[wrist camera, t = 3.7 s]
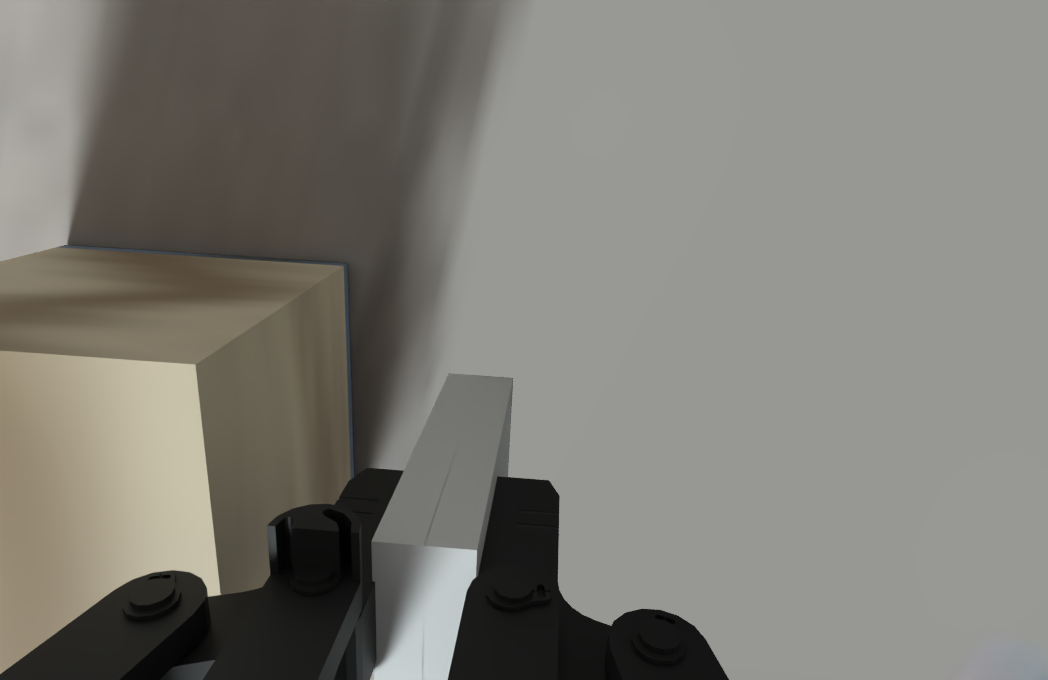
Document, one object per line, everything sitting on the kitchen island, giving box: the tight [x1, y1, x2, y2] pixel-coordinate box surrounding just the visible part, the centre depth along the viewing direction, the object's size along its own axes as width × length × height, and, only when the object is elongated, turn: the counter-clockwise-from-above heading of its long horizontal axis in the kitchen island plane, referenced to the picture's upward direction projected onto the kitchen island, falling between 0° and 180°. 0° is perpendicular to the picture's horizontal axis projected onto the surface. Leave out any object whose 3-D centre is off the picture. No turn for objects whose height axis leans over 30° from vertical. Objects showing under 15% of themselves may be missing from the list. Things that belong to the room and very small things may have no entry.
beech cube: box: [0, 245, 354, 674], centre depth 14 cm, size 7×7×7 cm
